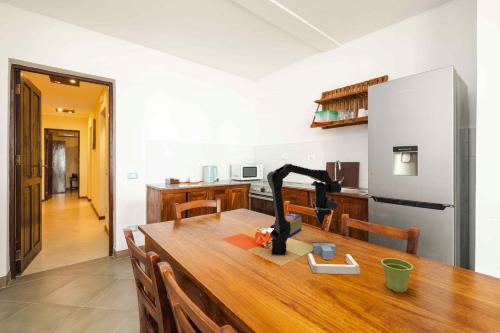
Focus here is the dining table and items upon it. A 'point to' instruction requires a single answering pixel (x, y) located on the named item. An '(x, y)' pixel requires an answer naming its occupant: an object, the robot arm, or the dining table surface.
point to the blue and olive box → (293, 223)
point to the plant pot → (396, 274)
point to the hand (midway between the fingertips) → (320, 224)
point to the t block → (325, 250)
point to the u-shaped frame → (335, 266)
